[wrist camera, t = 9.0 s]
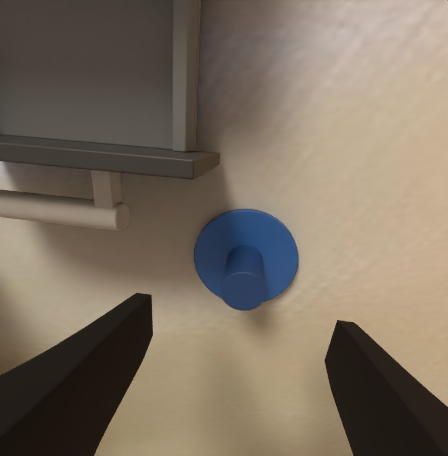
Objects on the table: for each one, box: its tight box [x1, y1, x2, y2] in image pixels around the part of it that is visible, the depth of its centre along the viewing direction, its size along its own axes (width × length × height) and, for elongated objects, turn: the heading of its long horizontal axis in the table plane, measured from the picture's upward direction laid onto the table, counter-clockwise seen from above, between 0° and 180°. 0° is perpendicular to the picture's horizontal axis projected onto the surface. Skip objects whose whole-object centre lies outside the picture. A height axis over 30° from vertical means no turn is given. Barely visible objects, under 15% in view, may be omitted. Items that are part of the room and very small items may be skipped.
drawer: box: [0, 0, 220, 231], centre depth 9 cm, size 12×14×6 cm
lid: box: [194, 209, 298, 310], centre depth 13 cm, size 6×6×4 cm
